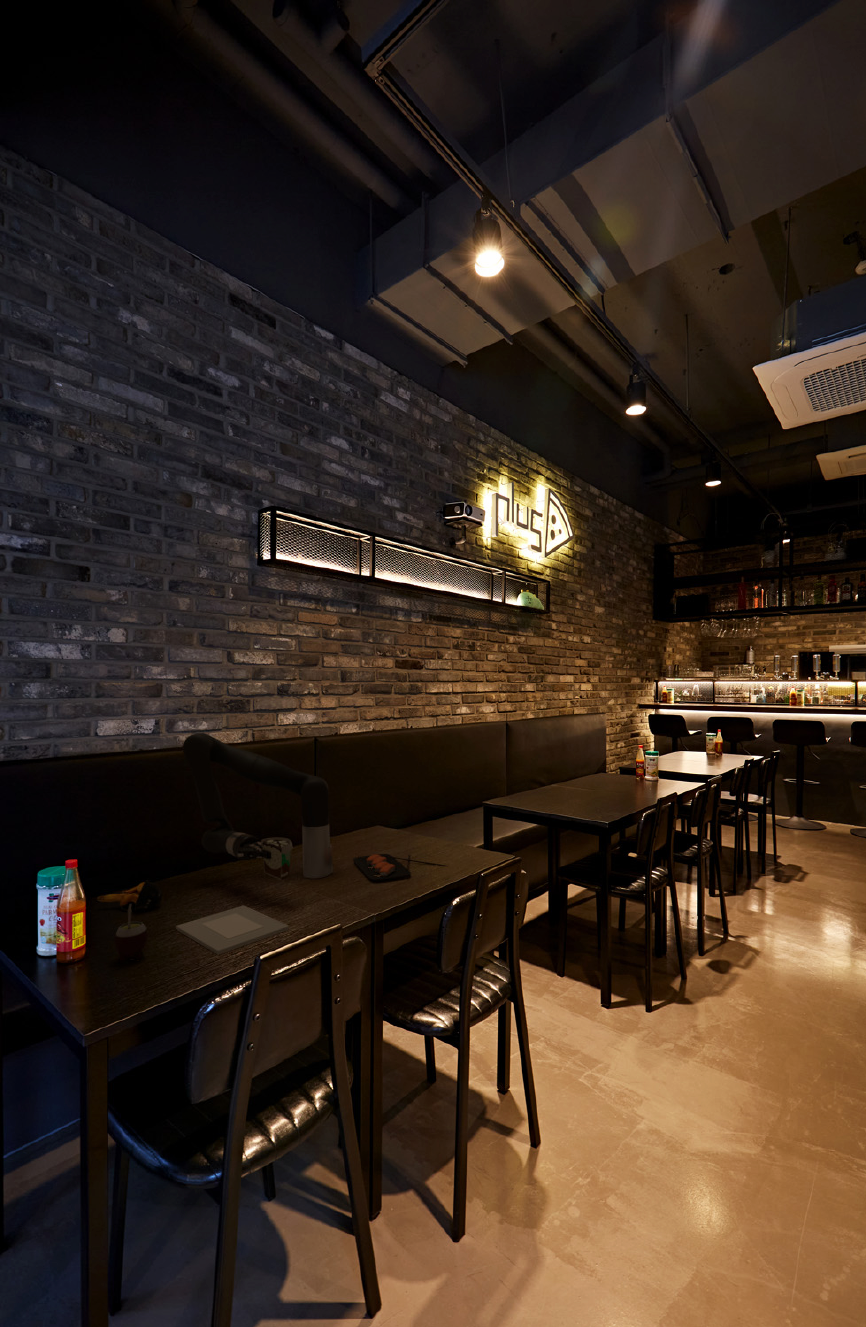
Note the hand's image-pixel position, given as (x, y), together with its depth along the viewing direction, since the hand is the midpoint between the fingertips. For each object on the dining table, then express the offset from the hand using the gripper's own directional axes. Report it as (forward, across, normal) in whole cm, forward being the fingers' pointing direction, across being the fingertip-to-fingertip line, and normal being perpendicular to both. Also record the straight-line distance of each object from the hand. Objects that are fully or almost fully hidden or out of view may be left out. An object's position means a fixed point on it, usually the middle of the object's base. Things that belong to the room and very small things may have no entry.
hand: (271, 855), depth 182 cm
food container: (0, +3, +6) cm, 7 cm away
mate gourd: (+6, -42, +14) cm, 45 cm away
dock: (+8, -17, +14) cm, 24 cm away
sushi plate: (+2, +51, +16) cm, 53 cm away
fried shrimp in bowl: (-31, -29, +15) cm, 45 cm away
